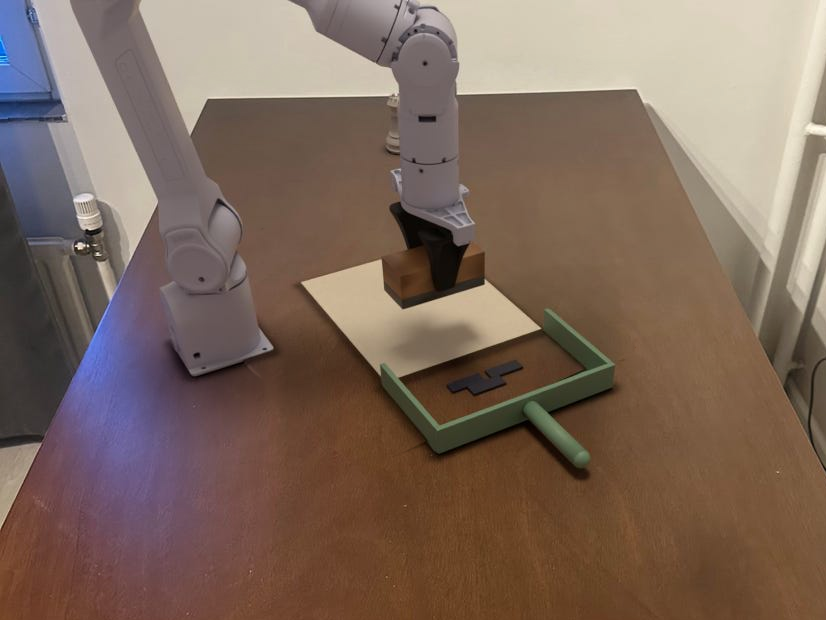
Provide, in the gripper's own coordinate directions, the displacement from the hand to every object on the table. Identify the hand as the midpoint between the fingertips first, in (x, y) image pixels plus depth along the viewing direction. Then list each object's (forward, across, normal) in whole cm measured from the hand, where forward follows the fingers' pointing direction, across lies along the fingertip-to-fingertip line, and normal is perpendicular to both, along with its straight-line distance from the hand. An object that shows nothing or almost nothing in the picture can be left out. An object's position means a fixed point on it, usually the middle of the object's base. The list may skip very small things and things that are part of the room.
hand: (434, 277), depth 96 cm
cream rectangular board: (+8, +8, -1) cm, 11 cm away
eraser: (+1, 0, 0) cm, 1 cm away
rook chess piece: (+8, +50, -20) cm, 54 cm away
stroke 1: (+8, -9, +1) cm, 12 cm away
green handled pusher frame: (+8, -16, -2) cm, 18 cm away
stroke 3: (+8, -9, -4) cm, 13 cm away
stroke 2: (+8, -10, 0) cm, 13 cm away
